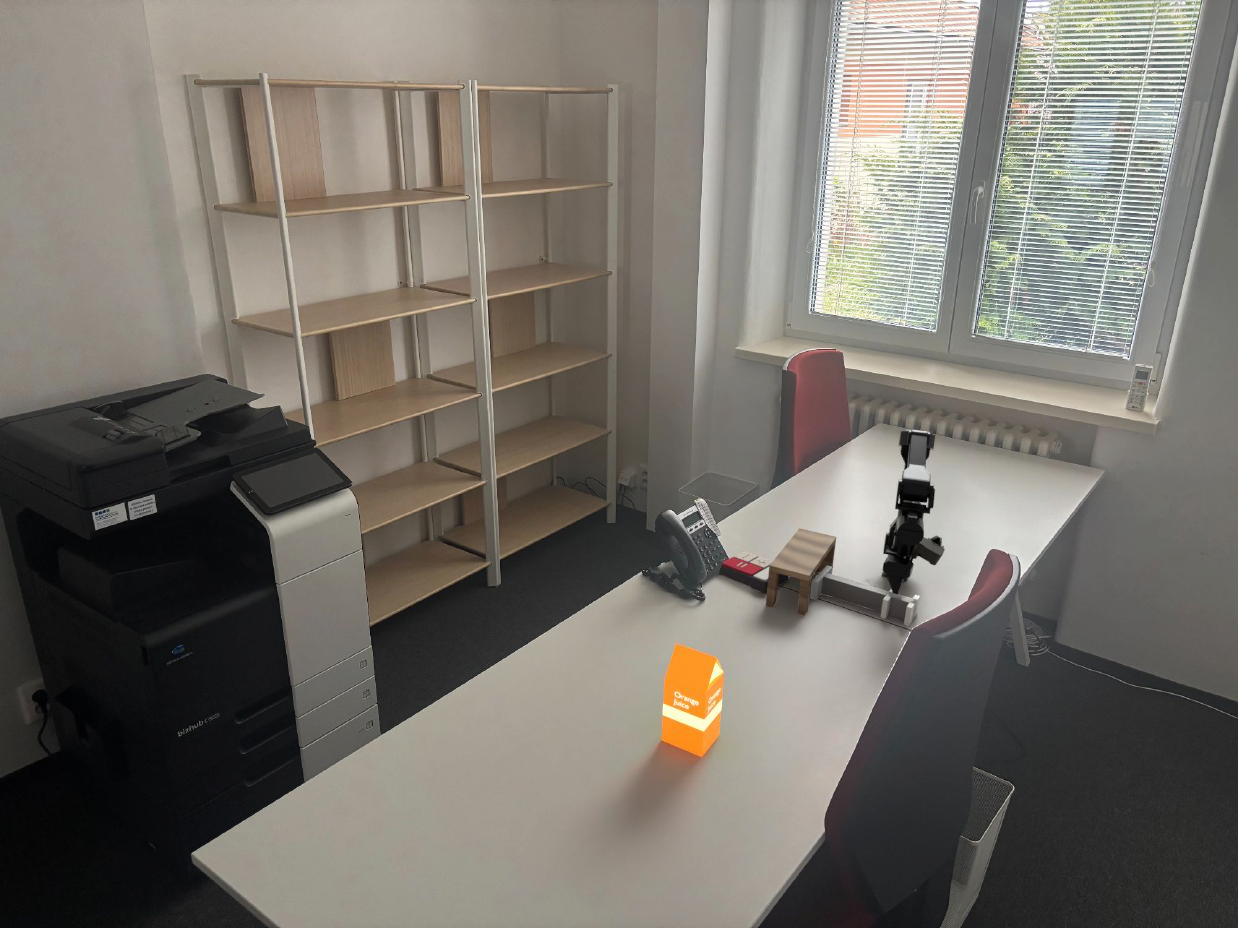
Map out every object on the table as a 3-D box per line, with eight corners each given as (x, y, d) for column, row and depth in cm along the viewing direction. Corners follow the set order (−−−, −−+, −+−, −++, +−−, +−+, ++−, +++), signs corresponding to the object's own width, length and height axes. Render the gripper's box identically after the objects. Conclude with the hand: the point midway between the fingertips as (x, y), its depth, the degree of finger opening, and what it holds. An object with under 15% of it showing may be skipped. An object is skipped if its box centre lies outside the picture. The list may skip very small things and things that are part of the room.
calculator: (743, 548, 236) (790, 565, 227) (743, 563, 238) (789, 580, 228) (718, 562, 229) (765, 579, 219) (718, 576, 231) (765, 594, 221)
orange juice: (701, 757, 163) (707, 668, 156) (660, 740, 168) (664, 652, 160) (719, 734, 170) (726, 647, 162) (680, 718, 174) (684, 633, 167)
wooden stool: (795, 564, 235) (799, 528, 231) (831, 574, 231) (836, 536, 227) (765, 604, 216) (769, 565, 212) (804, 615, 211) (809, 575, 207)
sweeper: (824, 582, 227) (826, 565, 225) (918, 611, 214) (921, 593, 213) (809, 598, 219) (811, 580, 217) (906, 629, 207) (909, 610, 205)
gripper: (937, 550, 193) (926, 611, 199) (950, 519, 208) (940, 577, 214) (886, 539, 198) (877, 599, 203) (903, 509, 213) (894, 566, 219)
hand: (899, 585), depth 210 cm, fingers open, 9 cm apart
